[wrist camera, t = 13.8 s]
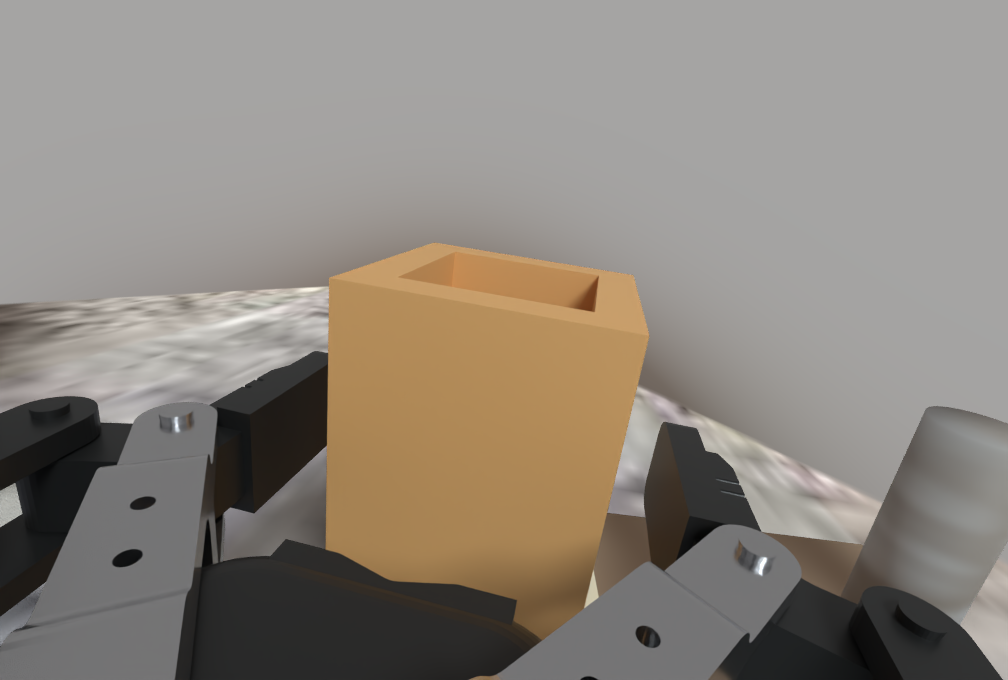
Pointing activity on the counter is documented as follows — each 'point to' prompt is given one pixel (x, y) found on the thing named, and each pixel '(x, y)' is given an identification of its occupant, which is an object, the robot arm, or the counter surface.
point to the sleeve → (479, 421)
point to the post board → (891, 523)
